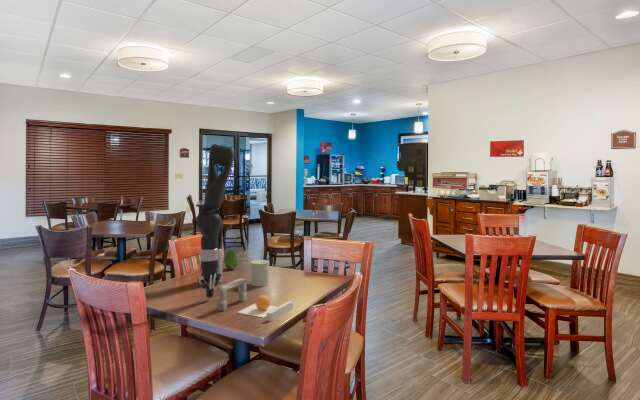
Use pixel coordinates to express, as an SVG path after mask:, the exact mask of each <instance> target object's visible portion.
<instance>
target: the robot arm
mask: <svg viewBox="0 0 640 400" xmlns="http://www.w3.org/2000/svg"><path fill="white" fill-rule="evenodd" d="M235 153H236V152H235V149H234V147H232V146H231V147H230V146H226V145H222V144H217V143H213V144H212V145H211V146H210V149H209V154H208V170H207V180H206V186H205V190H204V201H203V205H202V206H201V209H200V210H199V213H198V214H197V217H196V226H197V227H198V228H199V231H200V235H201V237H200V254H199V255H200V270H201V277H200V278H198V279H197V280H196V281H197V282H198V284H199V286H200V287H201V288H202V289H203V290H206V297H207V298H209V299H210V298H211V299H212V298H213V297H214V288H215V287H218V284H219V283H220V284H221V283H222V282H223V231H224V230H223V229H224V223H223V220H222V219H221V218H222V217H221V215H219V214H217V213H215V212H216V211H217V210H219V209H220V208H221V206H222V204H223V202H224V200H225V195H226V186H227V182H228V179H229V177H230V173H231V170H232V168H233V164H234V160H235ZM217 166H222V167H224V168H223V170H222V172H221V173H220V174H219V172H218V167H217Z"/></svg>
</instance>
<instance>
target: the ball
mask: <svg viewBox="0 0 640 400" xmlns="http://www.w3.org/2000/svg"><path fill="white" fill-rule="evenodd" d="M255 303H256V307H257V308H258V309H260V310H266V309H267V308H268V307H269V306H270V305H271V299H270V298H269V296H268V295H264V294H262V295H258V296H257V298H256V300H255Z"/></svg>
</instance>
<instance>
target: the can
mask: <svg viewBox="0 0 640 400" xmlns="http://www.w3.org/2000/svg"><path fill="white" fill-rule="evenodd" d="M250 266H251V267H250V268H251V269H250V270H251V274H250V275H251V279H250V280H251V281H250V284H251V286H253V287H266V286H269V285H270V262H269V260H267V259H256V260H255V259H254V260H252V261H251V262H250Z"/></svg>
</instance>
